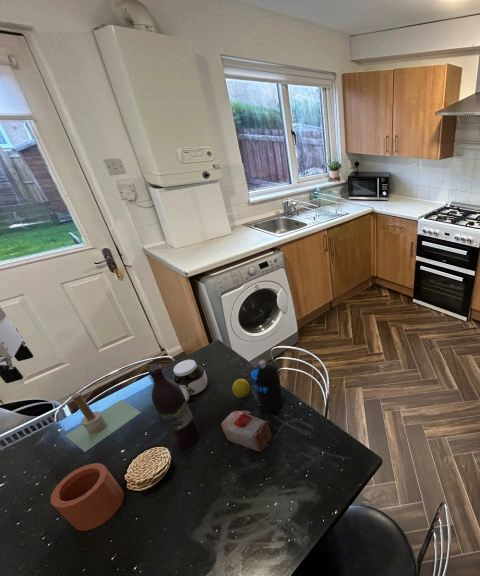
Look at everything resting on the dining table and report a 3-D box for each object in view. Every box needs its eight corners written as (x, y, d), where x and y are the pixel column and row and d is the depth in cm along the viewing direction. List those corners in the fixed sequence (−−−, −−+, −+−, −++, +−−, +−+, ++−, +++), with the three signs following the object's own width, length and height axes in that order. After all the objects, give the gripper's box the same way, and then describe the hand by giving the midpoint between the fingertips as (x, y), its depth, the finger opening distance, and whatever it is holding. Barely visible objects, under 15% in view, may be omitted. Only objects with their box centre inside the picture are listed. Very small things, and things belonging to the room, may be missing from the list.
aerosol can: (277, 391, 114) (268, 349, 104) (288, 404, 109) (279, 362, 99) (256, 404, 109) (243, 361, 99) (266, 418, 104) (255, 375, 94)
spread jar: (209, 378, 120) (201, 355, 114) (208, 400, 111) (199, 376, 105) (173, 388, 115) (163, 364, 110) (169, 411, 106) (157, 387, 101)
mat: (85, 453, 93) (84, 452, 93) (65, 436, 98) (65, 435, 98) (141, 413, 106) (141, 412, 105) (122, 400, 110) (121, 399, 110)
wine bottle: (173, 452, 93) (135, 381, 79) (176, 433, 99) (141, 363, 84) (200, 444, 96) (167, 372, 81) (201, 425, 102) (171, 356, 87)
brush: (106, 429, 99) (85, 397, 92) (87, 437, 97) (63, 404, 90) (108, 419, 103) (87, 386, 96) (89, 426, 101) (66, 393, 93)
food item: (222, 442, 96) (214, 421, 92) (240, 421, 103) (233, 401, 98) (259, 456, 93) (252, 435, 88) (275, 433, 99) (270, 412, 95)
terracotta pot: (86, 539, 74) (63, 516, 69) (65, 517, 78) (42, 493, 73) (132, 498, 82) (114, 474, 77) (111, 480, 86) (93, 456, 81)
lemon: (232, 401, 110) (226, 385, 106) (240, 389, 115) (236, 373, 111) (246, 403, 110) (241, 387, 106) (254, 391, 114) (250, 375, 110)
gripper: (-27, 306, 81) (11, 356, 89) (-60, 341, 68) (-12, 396, 76) (14, 298, 84) (47, 347, 92) (-10, 330, 72) (31, 383, 80)
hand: (20, 369), depth 84 cm, fingers open, 9 cm apart
